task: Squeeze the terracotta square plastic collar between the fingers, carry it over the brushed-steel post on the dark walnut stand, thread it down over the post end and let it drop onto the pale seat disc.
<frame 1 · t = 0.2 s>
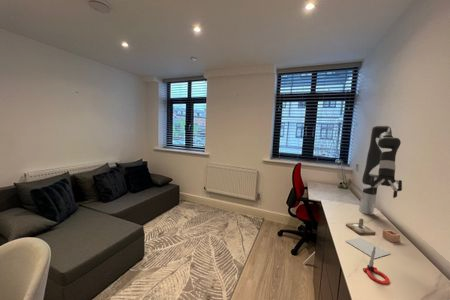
hand: (384, 196, 113), 31 cm above the table, tool tilted 20°, fingers open, 8 cm apart
collar: (390, 239, 125), on the table
grey flat panel: (379, 251, 112), on the table
post stand: (360, 229, 135), on the table
tow hook: (376, 277, 91), on the table
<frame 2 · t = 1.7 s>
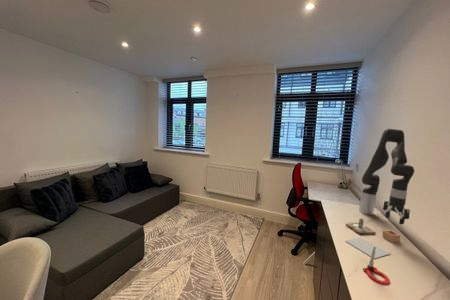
hand: (394, 220, 123), 12 cm above the table, tool pointing down, fingers open, 8 cm apart
nothing on the table moved.
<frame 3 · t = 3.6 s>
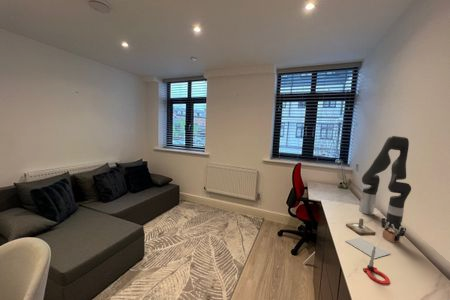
hand: (390, 237, 124), 1 cm above the table, tool pointing down, fingers closed on collar, 6 cm apart
collar: (390, 239, 125), on the table, touching gripper
everything else where it was.
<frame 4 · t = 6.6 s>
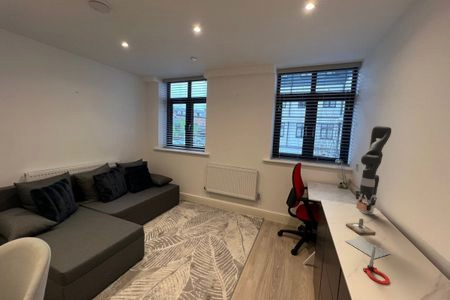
hand: (363, 208, 132), 16 cm above the table, tool pointing down, fingers closed on collar, 6 cm apart
collar: (363, 209, 133), point 15 cm above the table, touching gripper
everything else where it was.
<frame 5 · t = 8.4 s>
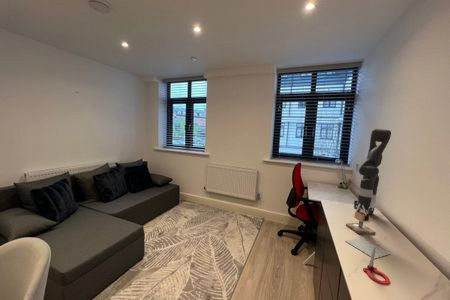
hand: (361, 218, 133), 8 cm above the table, tool pointing down, fingers closed on collar, 6 cm apart
collar: (361, 219, 134), point 7 cm above the table, touching gripper
everything else where it was.
when the fingers open (4 cm above the table, at t = 9.8 s): collar drops 1 cm, resting on post stand.
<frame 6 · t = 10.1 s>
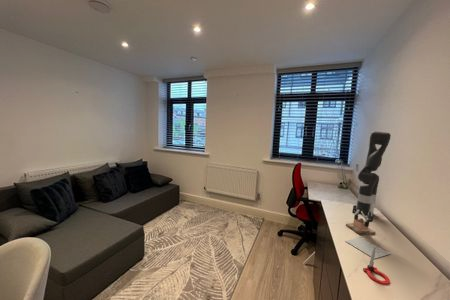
hand: (360, 223, 134), 5 cm above the table, tool pointing down, fingers open, 8 cm apart
collar: (360, 227, 134), point 2 cm above the table, touching post stand
everything else where it was.
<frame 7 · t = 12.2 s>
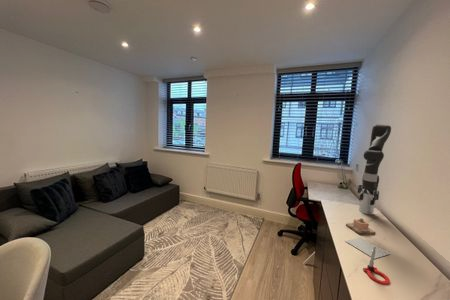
hand: (366, 202, 134), 19 cm above the table, tool pointing down, fingers open, 8 cm apart
nothing on the table moved.
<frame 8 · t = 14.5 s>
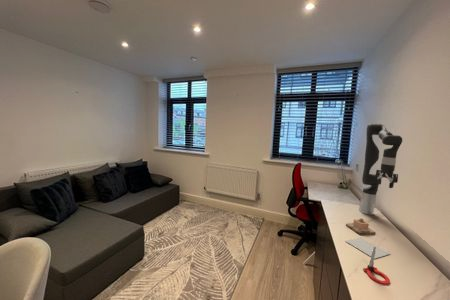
hand: (384, 186, 138), 30 cm above the table, tool pointing down, fingers open, 8 cm apart
nothing on the table moved.
at the end: collar 0.0 cm off-centre on the post stand, point 1.7 cm above the post stand's base; the gripper is holding nothing; collar tilted 0° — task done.
